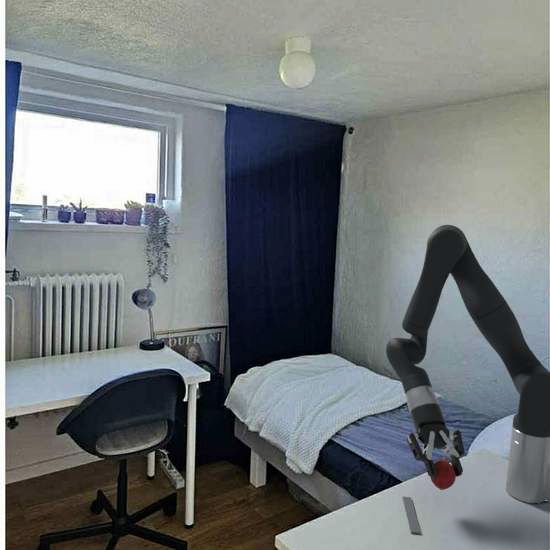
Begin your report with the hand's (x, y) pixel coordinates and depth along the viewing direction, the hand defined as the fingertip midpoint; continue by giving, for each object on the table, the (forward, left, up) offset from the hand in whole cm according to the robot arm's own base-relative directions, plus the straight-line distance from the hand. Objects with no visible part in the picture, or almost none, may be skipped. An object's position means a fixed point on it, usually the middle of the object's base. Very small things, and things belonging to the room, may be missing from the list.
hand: (447, 476), depth 114 cm
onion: (+1, -2, -5) cm, 5 cm away
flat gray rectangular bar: (+8, +2, -9) cm, 12 cm away
